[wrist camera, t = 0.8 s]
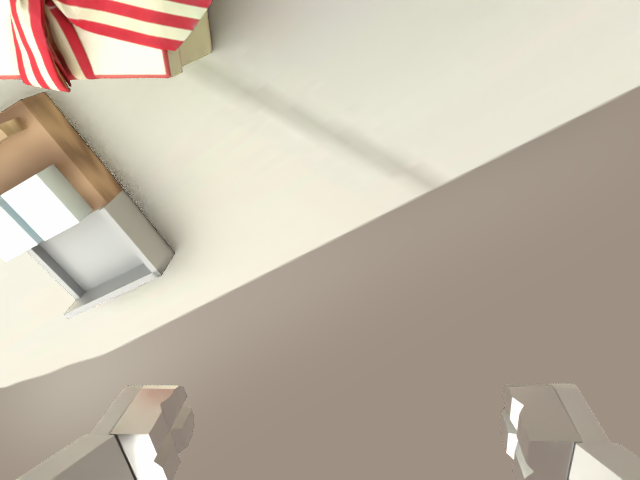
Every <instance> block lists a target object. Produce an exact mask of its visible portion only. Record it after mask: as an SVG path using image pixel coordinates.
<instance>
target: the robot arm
mask: <svg viewBox="0 0 640 480" xmlns="http://www.w3.org/2000/svg"><path fill="white" fill-rule="evenodd" d="M186 398H187V394H186V392H185V389H184V387H182V386H169V385H128V386H126V387H125V388H123V389H122V391H121V392H120V394H119V395H118V396H117V398H116V399H115V400H114V402H113V403H112V405H111V406H110V407H109V409H108V410H107V412H106V413H105V414H104V416H103V417H102V418H101V420H100V421H99V423H98V424H97V425H96V427H95V428H94V429H93V431H92V432H91V433H90V434H88V435H86V434H85V435H83V436H81V437H80V438H78V439H77V440H75V441H74V442H72V443H71V444H69V445H68V446H66V447H65V448H63V449H62V450H60V451H59V452H57V453H56V454H54V455H53V456H51V457H49V458H48V459H46V460H45V461H43V462H42V463H40V464H39V465H37V466H36V467H34V468H33V469H31V470H30V471H28V472H27V473H25V474H24V475H22V476H21V477H19V478H18V479H16V480H172V479H173V477H174V475H175V473H176V471H177V469H178V466H179V464H180V462H181V461H180V457H179V453H180V452H181V451H183V450H184V449H185V448H186V447H187V446H188V445H189V442H190V440H191V437H192V433H193V429H194V415H193V412H192V409H191V408H190V407H189V406H187V405H186V404H185V403H184V402H185V400H186ZM502 398H503V400H504V404H505V406H506V407H504V408H503V409H502V410H501V418H500V423H501V434H502V438H503V443H504V446H505V449H506V452H507V454H509V455H510V456H511V457H512V458H513V459H514V461H513V474H514V477H515V480H640V458H639V457H638V456H636V455H635V454H633V453H632V452H630V451H629V450H627V449H626V448H625V447H623V446H622V445H620V444H614V443H611V442H610V440H609V438H608V437H607V435H606V433H605V432H604V430H603V429H602V427H601V425H600V424H599V422H598V420H597V419H596V417H595V415H594V414H593V412H592V410H591V409H590V407H589V405H588V404H587V402H586V400H585V399H584V397H583V395H582V394H581V392H580V391H579V389H578V387H577V386H576V385H574V384H518V385H517V384H516V385H514V384H512V385H511V384H510V385H504V387H503V394H502Z"/></svg>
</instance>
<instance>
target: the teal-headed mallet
mask: <svg viewBox="0 0 640 480" xmlns="http://www.w3.org/2000/svg"><path fill="white" fill-rule="evenodd" d="M25 129H27V127H26V126H25V125H24V124H23V122H22V121H21V120H20V119H19V118H18V117H17V118H15V119H12V120H10V121H7V122H4V123H2V124H0V145H1V144H3V143H5V142H6V141H8V140H9V139H11V138H12V137H14V136H16V135H17V134H19V133H20V132H22V131H23V130H25Z"/></svg>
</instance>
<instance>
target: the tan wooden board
mask: <svg viewBox="0 0 640 480" xmlns="http://www.w3.org/2000/svg"><path fill="white" fill-rule="evenodd" d="M17 117H18V118H19V119H20V120H21V121H22V122H23V124H24V125H25V126H26V127H27V129H25V130H23V131H22V132H20V133H19V134H17V135H16V136H14V137H12V138H11V139H9V140H8V141H6V142H5V143H3V144H1V145H0V195H2V194H4V193H5V192H7V191H9V190H10V189H12V188H14V187H15V186H17V185H19V184H20V183H22V182H24V181H25V180H27V179H29V178H31V177H32V176H34V175H36V174H37V173H39V172H41V171H42V170H44V169H46V168H47V167H49V166H51V165H52V164H54V165H55V167H56V168H57V169H58V170H59V171H60V172H61V174H62V175H63V176H64V177H65V178H66V179H67V180H68V182H69V183H70V184H71V185H72V186H73V187H74V188H75V190H76V191H77V192H78V193H79V194H80V195H81V196H82V198H83V199H84V200H85V201H86V202H87V203H88V205H89V206H90V207H91V208H92V209H93V210H92V211H91V212H90V213H92V212H94V211H96V210H98V209H100V208H101V207H103V206H105V205H107V204H108V203H110V202H111V201H112V200H113V199H114V198H115V197H116V196H117V195H118V194H119V193H120V192H121V191H122V190H123V189H122V187H121V186H120V185H119V184H118V182H117V181H116V180H115V179H114V177H113V176H112V175H111V174H110V173H109V171H108V170H107V169H106V168H105V166H104V165H103V164H102V163H101V161H100V160H99V159H98V158H97V156H96V155H95V154H94V153H93V152H92V150H91V149H90V148H89V147H88V145H87V144H86V143H85V142H84V140H83V139H82V138H81V137H80V135H79V134H78V133H77V132H76V131H75V129H74V128H73V127H72V126H71V124H70V123H69V122H68V121H67V119H66V118H65V117H64V116H63V114H62V113H61V112H60V111H59V110H58V108H57V107H56V106H55V105H54V103H53V102H52V101H51V100H50V98H49V97H48V96H47V95H46V93H45V92H43V93H40V94H37V95H34V96H31V97H28V98H25V99H22V100H19V101H18V102H16V103H15V104H13V105H12V106H10V107H9V108H7V109H6V110H4V111H3V112H1V113H0V124H2V123H4V122H7V121H10V120H12V119H15V118H17ZM90 213H89V214H90Z"/></svg>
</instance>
